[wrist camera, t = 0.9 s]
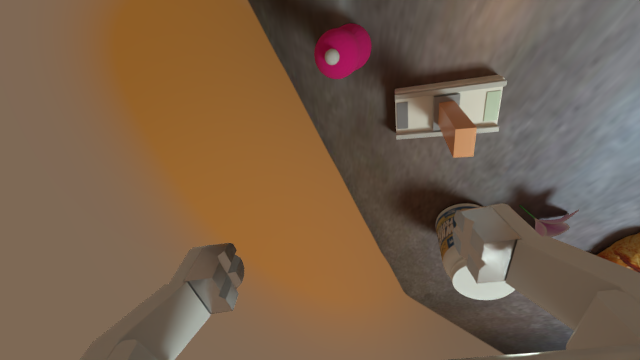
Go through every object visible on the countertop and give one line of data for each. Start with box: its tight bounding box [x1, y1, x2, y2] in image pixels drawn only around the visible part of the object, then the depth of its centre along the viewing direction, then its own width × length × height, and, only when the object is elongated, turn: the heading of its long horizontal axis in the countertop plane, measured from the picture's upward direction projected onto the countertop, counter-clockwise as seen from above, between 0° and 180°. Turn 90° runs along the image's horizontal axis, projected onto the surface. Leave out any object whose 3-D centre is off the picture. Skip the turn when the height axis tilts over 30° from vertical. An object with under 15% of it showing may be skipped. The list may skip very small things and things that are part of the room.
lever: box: [433, 93, 477, 158], centre depth 39 cm, size 4×6×15 cm, turn 11°
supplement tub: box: [435, 203, 515, 300], centre depth 52 cm, size 12×12×17 cm
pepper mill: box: [314, 23, 371, 79], centre depth 38 cm, size 7×7×20 cm
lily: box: [519, 205, 579, 237], centre depth 51 cm, size 12×12×10 cm
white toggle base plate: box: [395, 75, 507, 139], centre depth 46 cm, size 17×9×4 cm, turn 101°
